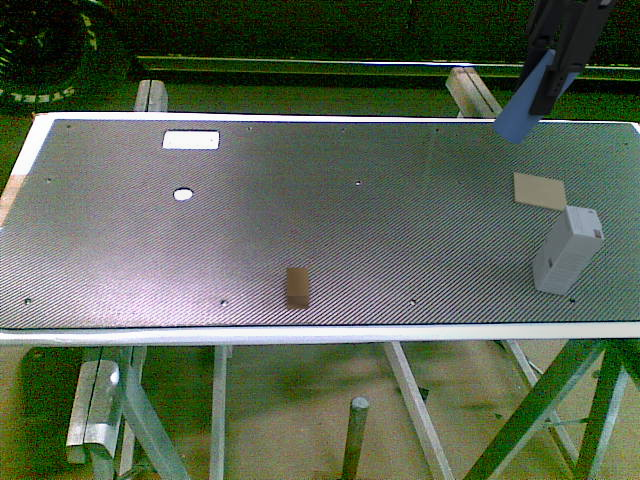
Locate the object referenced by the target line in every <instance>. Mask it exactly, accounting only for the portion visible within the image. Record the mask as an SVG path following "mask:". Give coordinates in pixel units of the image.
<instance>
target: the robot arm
mask: <svg viewBox="0 0 640 480" xmlns="http://www.w3.org/2000/svg"><path fill="white" fill-rule="evenodd" d="M618 1H619V0H535V3H534V5H533V7H532V11H531V13H530V17H529V18H528V22H527V24H526V28H525V33H524V34H525V36H528V37H529V38H528V45H529V48H528V50H527V54H526V56H525V58H524V59H525V60H524V62H523V64H522V67H521V71H520V72H519V76H518V78H517V81H516V84H515V87H514V90H513V95H515V93H516V92H517V91H518V89H519V88H520V87H521V85H522V84H523V83H524V81H525V80H526V79H527V78H528V76H529V75H530V74H531V72H532V71H533V70H534V68H535V67H536V66H537V64H538V63H539V62H540V61H541V59H542V58H543V57H544V55H545V54H546V53H547V51H548V50H549V49H550V47H554V46H555V41H554V40H553V38H554V37H555V35H556V34H557V31H558V29H559V28H560V26H561V24H562V26H561V30H560V33H559V37H558V41H557V45H556V48H555V51H556V52H555V55H554V59H553V63H552V65H546V70H545V72H544V75H543V77H542V80H541V82H540V84H539V87H538V89H537V92H536V94H535V97H534V99H533V102H532V104H531V107H530V109H529V112H528V113H529V114H530V115H540V116H543V117H545V116H548V117H549V116H551V113H552V111H553V109H554V106H555V104H556V102H557V101H558V99H557V97H558V95H559V94H560V93H561V91H562V88H563V86H564V84H565V81H566V79H567V77H568V75H569V73H579V74H582V73H583V72H584V71H585V69H586V67H587V65H588V63H589V60H590V59H591V56H592V54H593V51H594V49H595V47H596V44H597V42H598V40H599V38H600V36H601V34H602V32H603V29H604V27H605V25H606V22H607V20H608V18H609V15H610V14H611V11H612V9H613V8H614V6H615V5H616V4H617V2H618ZM562 60H563V61H562ZM556 100H557V101H556Z"/></svg>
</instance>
